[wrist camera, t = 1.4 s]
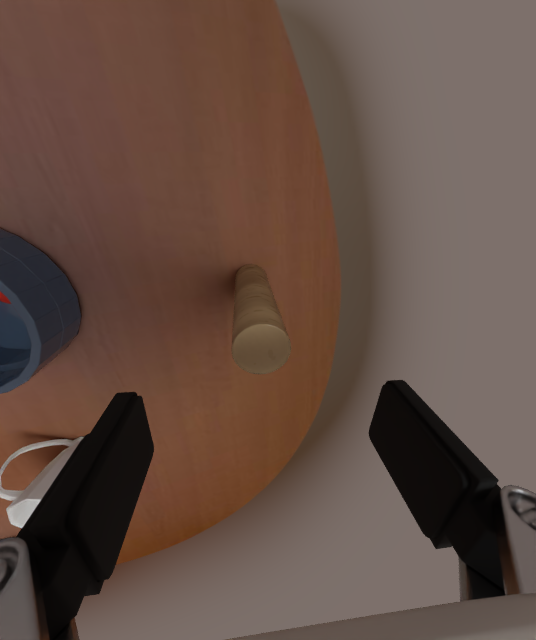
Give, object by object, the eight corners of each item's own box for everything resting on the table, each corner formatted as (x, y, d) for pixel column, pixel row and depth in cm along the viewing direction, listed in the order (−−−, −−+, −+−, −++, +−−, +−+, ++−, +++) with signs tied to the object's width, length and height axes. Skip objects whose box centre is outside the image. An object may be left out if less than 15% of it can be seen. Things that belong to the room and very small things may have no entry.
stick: (229, 273, 24) (219, 342, 12) (257, 258, 24) (274, 313, 12) (245, 299, 25) (250, 383, 14) (272, 285, 25) (300, 358, 13)
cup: (103, 469, 35) (68, 540, 27) (24, 446, 31) (-41, 520, 24) (125, 441, 32) (93, 509, 25) (43, 412, 29) (-22, 482, 22)
